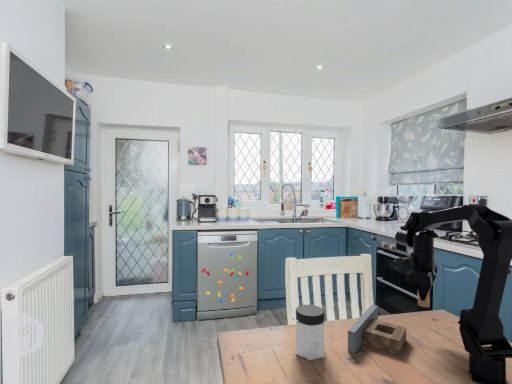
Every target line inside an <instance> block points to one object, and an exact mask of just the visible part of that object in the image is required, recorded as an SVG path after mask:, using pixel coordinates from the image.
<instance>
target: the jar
mask: <svg viewBox="0 0 512 384" xmlns="http://www.w3.org/2000/svg"><path fill="white" fill-rule="evenodd" d="M325 316H326V315H325V310H324V308H322V307H321V306H317V305H315V304H314V305H313V304H301V305H299V306H297V307H296V308H295V355H297V356H299V357H302V358H304V359H305V360H308V361H314V360H317V359H322V358H325Z"/></svg>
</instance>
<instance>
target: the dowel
mask: <svg viewBox="0 0 512 384" xmlns="http://www.w3.org/2000/svg"><path fill="white" fill-rule="evenodd" d="M430 303H431V302H430V291H429V292H428V295H427V297H426V299H425V301H422V300H421V299H420V296H419V292H418V291H417V305H418V306H419V307H421V308H430Z"/></svg>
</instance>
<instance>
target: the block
mask: <svg viewBox="0 0 512 384" xmlns="http://www.w3.org/2000/svg"><path fill="white" fill-rule="evenodd" d="M406 342H407V327H405V326H401V325H397V324H393V323H390V322H386V321H382V320H379V319H378V320H375V319H372V320H371V321H370V323H369V324H368V325H367V326H366V327H365V329H364V330H363V343H362V345H367V346H369V347H373V348H376V349H379V350H383V351H385V352H389V353H391V354H395V355H398V356H400V354H401V353H402V351H403V349H404V346H405V344H406Z"/></svg>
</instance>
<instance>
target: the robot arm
mask: <svg viewBox="0 0 512 384" xmlns="http://www.w3.org/2000/svg"><path fill="white" fill-rule="evenodd" d="M464 221H465V222H466V221H467V223H468V226H469V229H470V230H472V232H474V234H476V235H477V236H478V242H477V243H478V245H479V247H480V250H481V252H482V254H483V257H482V261H481V264H480V265H481V266H480V272H479V276H478V279H477V285H476V289H475V295H474V298H473V299H474V300H473V304H472V307H471V308H467V309H461V311H460V312H459V320H458V322H457V324H458V325H459V329H458V330H459V334H460V336H461V340H462V343H463V347H464V351H466V352H467V353H468V361H469V362H468V366H469V367H468V368H469V369H468V370H469V371H468V372H469V374H470V375H471V381H472V382H475V383H477V384H507V359H512V345H511V343H510V342H509V340H508V338H507V337H506V336H505V334H504V323H503V322H502V320H501V318H500V309H501V304H502V300H503V295H504V292H505V287H506V283H507V279H508V274H509V270H510V267H511V262H512V219H511V218H510V217H509V216H506V215H504V214H502V213H499V212H497V211H495V210H493V209H491V208H489V207H488V206H486V205H485V204H482V203H465V204H463V205H461V206H455V207H450V208H445V209H442V210H441V209H440V210H436V211H430V210H427V211H412V212H411V213H410V214H409V217H408V218H407V220H406V222H405V224H404V225H400V227H399V228H400V229H398V230H397V231H396V233H395V235H394V239H395V241H396V243H397V244H399V245H401V246H404V247H408V248H412V253H410V255H409V256H405V257H404V256H403V257H402V256H399V257H396V258H394V260H393V267H394V268H396V271H401V270H404V269H405V270H406V269H409V268H410V271H409V272H407V274H406V281H407V282H408V283H409V282H410V283H414V284H415V286H416V288H417V293H418V292H419V296H420V299H421V300H422V301H425V299H426V297H427V295H428V292H429V293H430V291H431V288H432V286H433V284H434V282H435V280H436V279H437V275H436V274H438V273H439V265H438V264H436V263H435V255H436V253H435V252H434V251H435V250H434V247H435V246H434V244H435V243H434V240H435V239H439V238H440V236H439V234H437V233H436V232H435V231H434V229H437V228H439V227H441V226H442V225H444V224H450V223H457V222H464ZM432 273H435V274H432Z"/></svg>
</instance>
